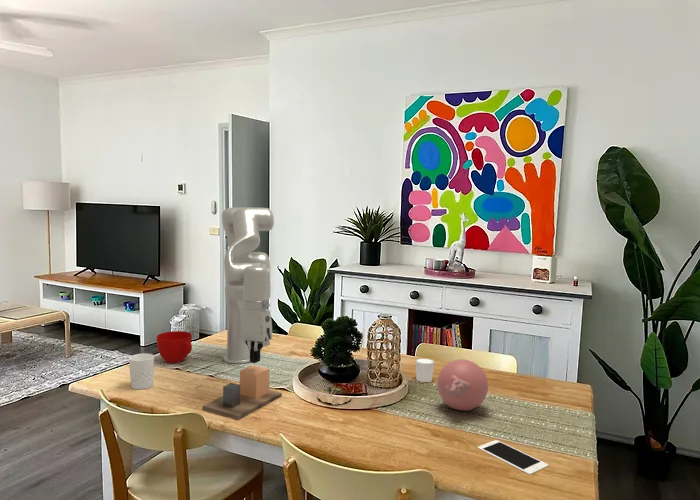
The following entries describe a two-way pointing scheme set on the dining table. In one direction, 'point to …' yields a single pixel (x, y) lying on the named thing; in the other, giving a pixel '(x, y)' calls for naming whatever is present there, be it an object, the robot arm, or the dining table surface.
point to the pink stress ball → (462, 384)
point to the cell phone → (513, 457)
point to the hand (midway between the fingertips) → (255, 361)
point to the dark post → (231, 395)
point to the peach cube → (254, 381)
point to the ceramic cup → (174, 345)
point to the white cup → (141, 370)
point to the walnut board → (241, 405)
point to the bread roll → (332, 390)
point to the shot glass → (424, 369)
